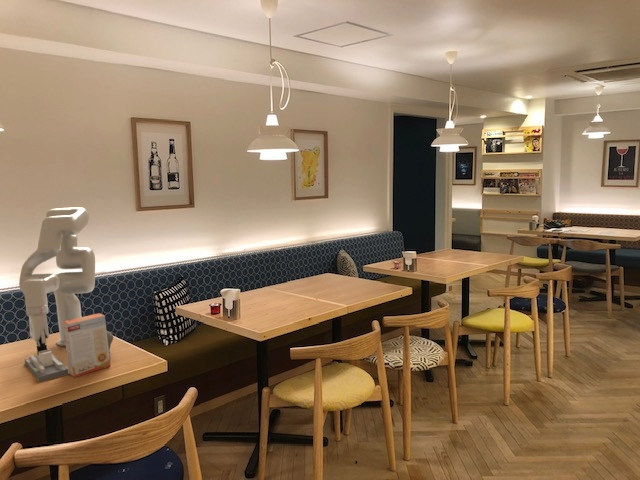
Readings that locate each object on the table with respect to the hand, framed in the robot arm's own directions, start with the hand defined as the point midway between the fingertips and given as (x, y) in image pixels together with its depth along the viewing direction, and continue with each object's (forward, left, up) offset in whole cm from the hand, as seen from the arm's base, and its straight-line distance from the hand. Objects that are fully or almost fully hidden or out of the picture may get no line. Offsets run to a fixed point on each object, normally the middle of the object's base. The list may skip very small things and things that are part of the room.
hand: (42, 354), depth 207 cm
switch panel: (0, +3, -5) cm, 6 cm away
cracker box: (-12, +16, -5) cm, 21 cm away
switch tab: (0, +4, -3) cm, 5 cm away
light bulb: (-23, +4, -5) cm, 24 cm away
